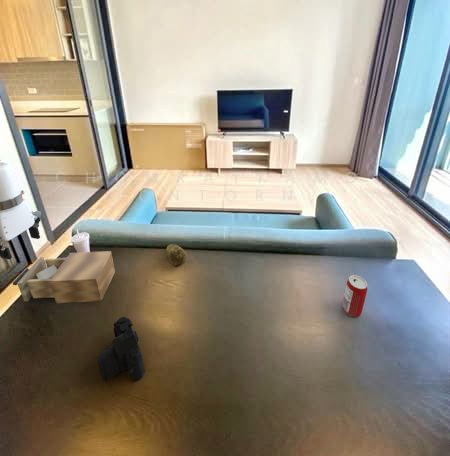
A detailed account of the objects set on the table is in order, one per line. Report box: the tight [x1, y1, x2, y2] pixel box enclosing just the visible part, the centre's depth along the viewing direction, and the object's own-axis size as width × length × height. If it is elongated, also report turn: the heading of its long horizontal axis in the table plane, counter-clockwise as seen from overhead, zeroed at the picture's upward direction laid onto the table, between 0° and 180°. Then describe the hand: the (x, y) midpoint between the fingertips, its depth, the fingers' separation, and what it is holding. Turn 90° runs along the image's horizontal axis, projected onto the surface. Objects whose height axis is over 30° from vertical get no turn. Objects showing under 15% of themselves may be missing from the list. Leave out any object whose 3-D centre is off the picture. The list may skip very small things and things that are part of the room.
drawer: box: [12, 256, 67, 302], centre depth 86 cm, size 18×11×8 cm, turn 93°
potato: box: [165, 243, 188, 268], centre depth 97 cm, size 8×13×8 cm, turn 9°
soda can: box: [341, 274, 368, 318], centre depth 77 cm, size 6×6×12 cm
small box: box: [36, 265, 58, 279], centre depth 86 cm, size 6×6×5 cm
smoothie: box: [70, 228, 91, 253], centre depth 99 cm, size 6×6×14 cm
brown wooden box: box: [49, 250, 116, 304], centre depth 86 cm, size 15×13×10 cm
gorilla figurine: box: [96, 316, 146, 383], centre depth 64 cm, size 15×10×9 cm, turn 36°
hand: (22, 247), depth 81 cm, fingers open, 9 cm apart
